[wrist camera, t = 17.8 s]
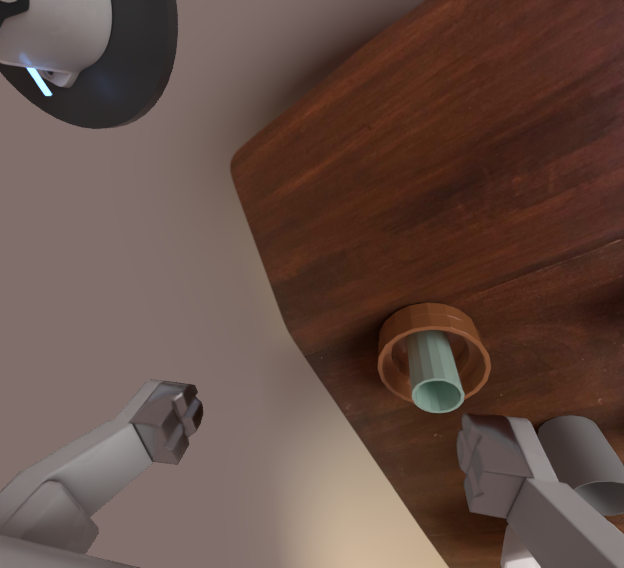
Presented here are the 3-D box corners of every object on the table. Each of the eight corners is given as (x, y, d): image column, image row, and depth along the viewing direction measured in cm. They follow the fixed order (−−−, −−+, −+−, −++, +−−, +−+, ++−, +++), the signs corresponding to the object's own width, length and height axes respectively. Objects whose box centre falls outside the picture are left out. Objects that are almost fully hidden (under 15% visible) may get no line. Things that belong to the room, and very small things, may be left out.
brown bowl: (364, 356, 51) (362, 384, 46) (401, 287, 44) (404, 311, 39) (447, 386, 51) (455, 417, 46) (499, 320, 43) (514, 350, 38)
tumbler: (399, 350, 48) (403, 403, 40) (417, 321, 45) (425, 371, 37) (436, 363, 48) (448, 418, 40) (456, 335, 45) (474, 389, 37)
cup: (525, 433, 53) (553, 497, 44) (567, 408, 48) (607, 472, 40) (566, 455, 53) (602, 522, 45) (611, 431, 49) (660, 500, 41)
